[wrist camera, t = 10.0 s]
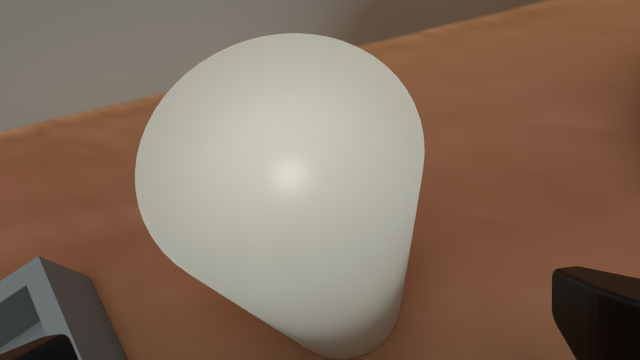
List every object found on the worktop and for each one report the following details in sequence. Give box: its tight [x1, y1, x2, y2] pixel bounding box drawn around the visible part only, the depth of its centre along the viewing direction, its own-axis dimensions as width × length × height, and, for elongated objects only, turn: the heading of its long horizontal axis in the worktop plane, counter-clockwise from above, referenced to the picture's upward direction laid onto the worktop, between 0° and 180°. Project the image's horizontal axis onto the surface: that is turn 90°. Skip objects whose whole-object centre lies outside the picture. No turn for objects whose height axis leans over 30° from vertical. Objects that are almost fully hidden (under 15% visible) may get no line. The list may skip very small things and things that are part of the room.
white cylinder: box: [135, 33, 424, 360], centre depth 14 cm, size 5×5×13 cm
